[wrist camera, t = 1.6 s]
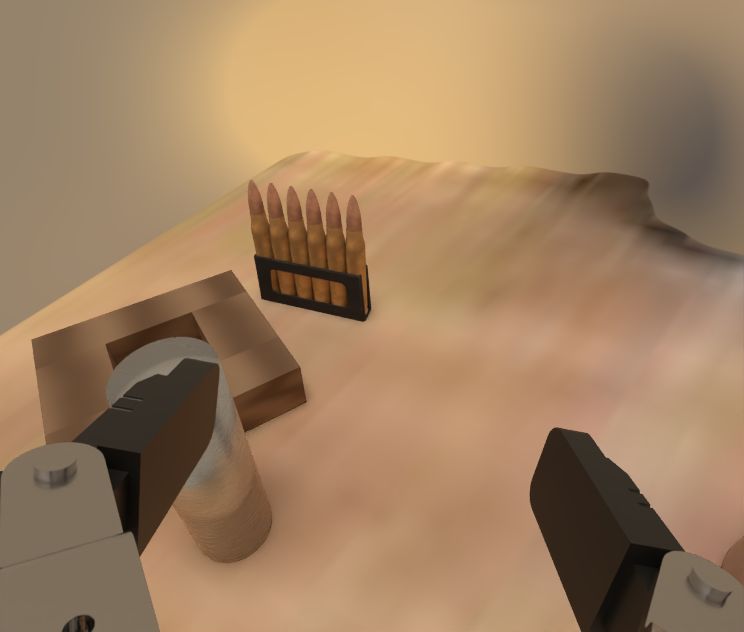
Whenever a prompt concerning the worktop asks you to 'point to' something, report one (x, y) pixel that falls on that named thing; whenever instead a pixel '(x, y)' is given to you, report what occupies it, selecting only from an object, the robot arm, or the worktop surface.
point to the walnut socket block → (156, 322)
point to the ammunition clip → (310, 255)
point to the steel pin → (208, 459)
